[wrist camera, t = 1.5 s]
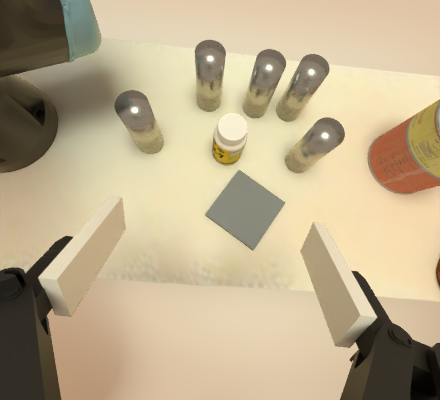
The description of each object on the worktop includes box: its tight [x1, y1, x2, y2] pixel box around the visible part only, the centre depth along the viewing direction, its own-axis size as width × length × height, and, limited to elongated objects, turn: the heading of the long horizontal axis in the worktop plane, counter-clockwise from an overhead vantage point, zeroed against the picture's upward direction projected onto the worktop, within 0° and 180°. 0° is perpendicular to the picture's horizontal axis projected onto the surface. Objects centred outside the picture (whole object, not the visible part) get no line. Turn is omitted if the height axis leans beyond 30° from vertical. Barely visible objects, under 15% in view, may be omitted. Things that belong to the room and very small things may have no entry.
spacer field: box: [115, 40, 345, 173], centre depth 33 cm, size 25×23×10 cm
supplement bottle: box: [212, 113, 248, 165], centre depth 33 cm, size 5×5×8 cm
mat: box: [205, 170, 285, 250], centre depth 35 cm, size 9×9×1 cm
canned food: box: [368, 100, 440, 194], centre depth 33 cm, size 11×11×12 cm
